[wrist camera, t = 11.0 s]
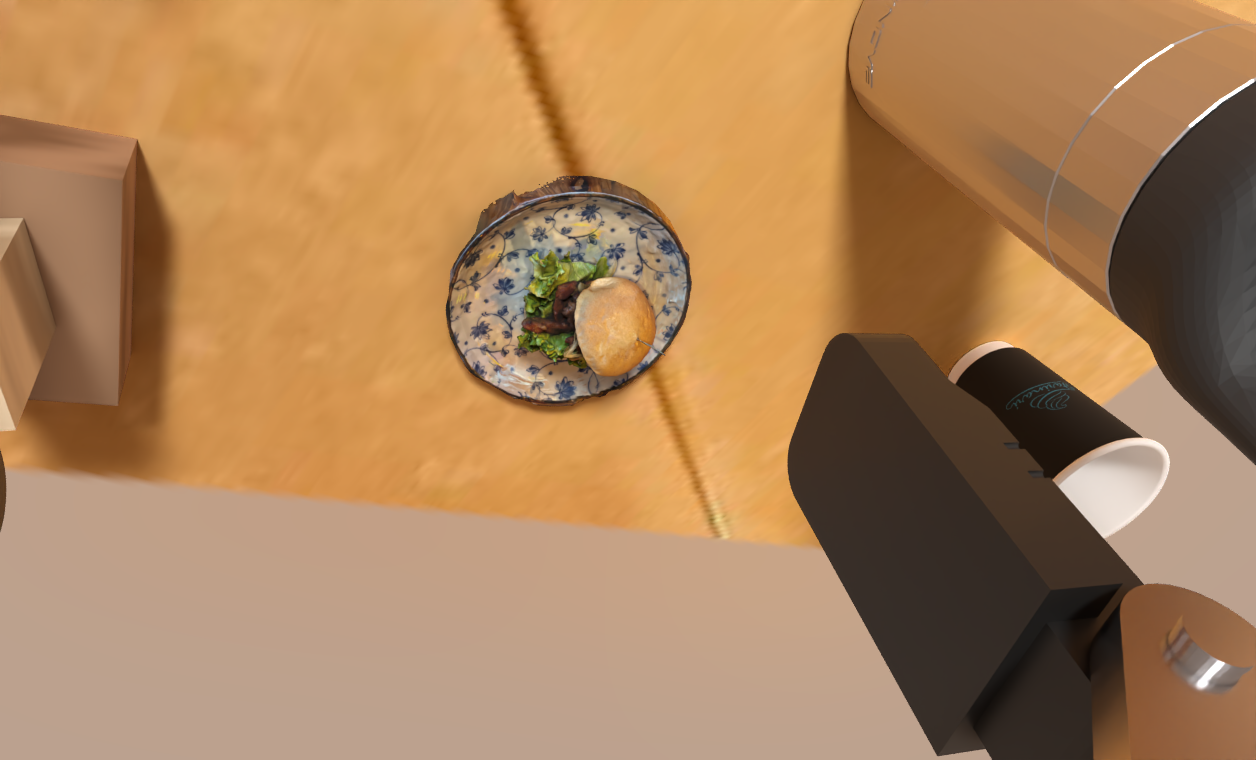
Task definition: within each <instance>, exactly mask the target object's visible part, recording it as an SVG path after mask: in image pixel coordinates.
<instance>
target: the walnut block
mask: <svg viewBox="0 0 1256 760" xmlns="http://www.w3.org/2000/svg"><path fill="white" fill-rule="evenodd" d="M136 162H137V139H134V138H128V137H123V136H117V135H111V134H106V133H100V132H94V131H89V130H83V129H78V128H72V127H66V126H61V125H55V124H49V123H44V122H38V121H32V120H27V119H21V118H15V117H10V116H4V115H0V218H23V219H24V222H25V225H26V229H27V232H28V235H29V238H30V242H31V245H32V248H33V252H34V255H35V258H36V262H37V265H38V268H39V272H40V275H41V278H42V281H43V285H44V288H45V291H46V295H47V298H48V301H49V305H50V308H51V311H52V315H53V318H54V321H55V324H56V329H55V332H54V335H53V337H52V340H51V342H50V345H49V347H48V350H47V352H46V355H45V357H44V360H43V363H42V365H41V368H40V370H39V373H38V375H37V378H36V380H35V383H34V385H33V388H32V390H31V393H30V396H29V398H28V399H29V400H43V401H57V402H71V403H85V404H98V405H112V406H118V404H119V400H120V396H121V392H122V388H123V384H124V380H125V376H126V372H127V369H128V365H129V361H130V357H131V340H132V305H133V269H134V233H135V198H136Z"/></svg>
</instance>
